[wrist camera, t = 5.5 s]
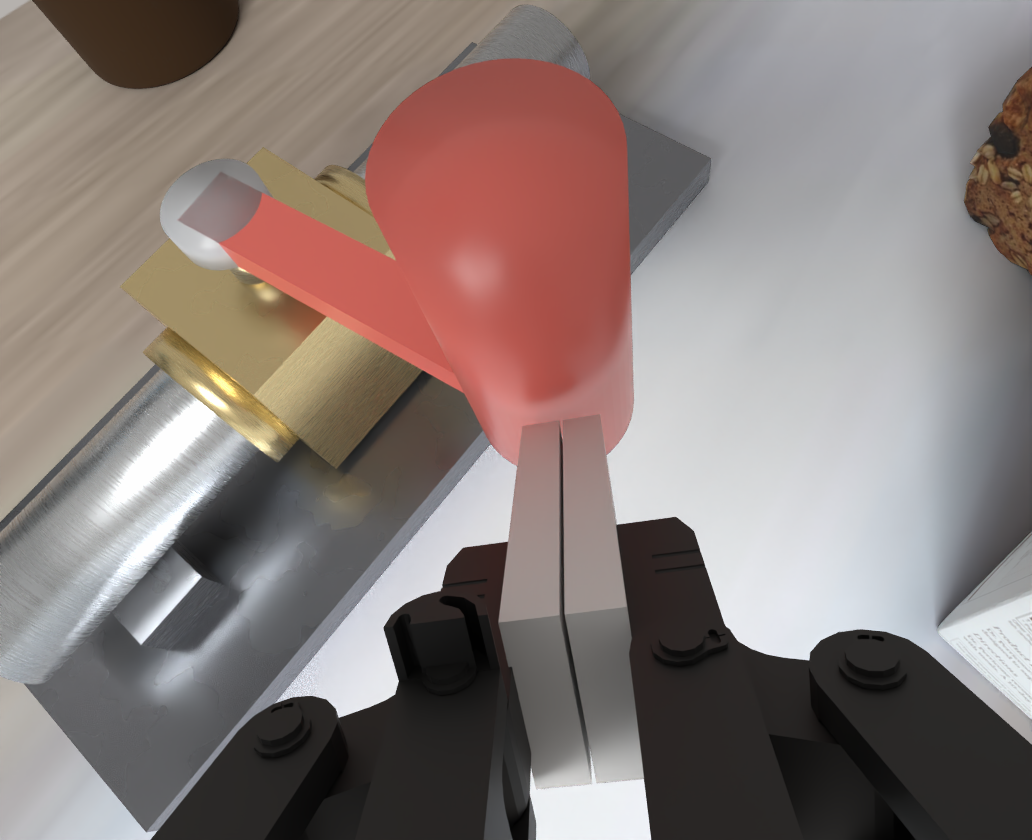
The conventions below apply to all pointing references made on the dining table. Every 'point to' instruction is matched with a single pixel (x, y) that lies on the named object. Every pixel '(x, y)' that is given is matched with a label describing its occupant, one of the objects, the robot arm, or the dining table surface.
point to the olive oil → (143, 36)
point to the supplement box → (999, 627)
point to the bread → (1006, 177)
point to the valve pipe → (249, 484)
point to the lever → (463, 244)
